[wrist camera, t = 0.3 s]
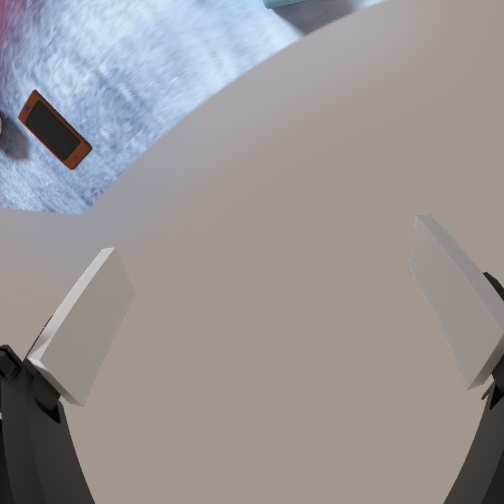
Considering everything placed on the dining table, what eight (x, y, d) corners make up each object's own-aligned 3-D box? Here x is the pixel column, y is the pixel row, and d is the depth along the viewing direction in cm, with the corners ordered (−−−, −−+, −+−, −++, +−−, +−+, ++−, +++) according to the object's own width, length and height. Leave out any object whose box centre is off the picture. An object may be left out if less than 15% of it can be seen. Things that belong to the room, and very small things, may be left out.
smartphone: (32, 89, 28) (91, 149, 38) (36, 87, 29) (94, 146, 38) (16, 118, 31) (70, 172, 41) (19, 115, 32) (73, 168, 41)
